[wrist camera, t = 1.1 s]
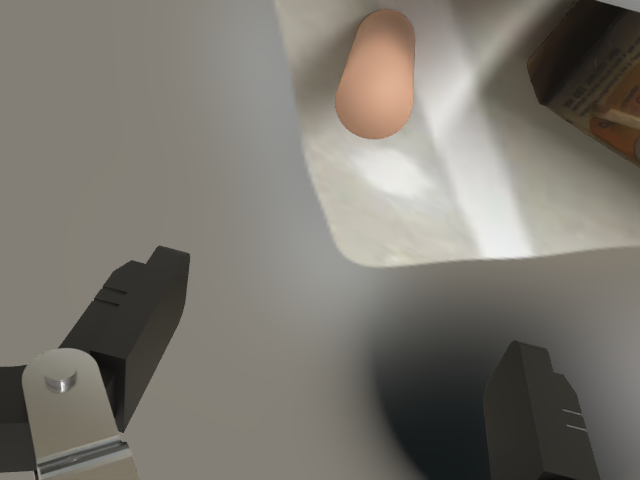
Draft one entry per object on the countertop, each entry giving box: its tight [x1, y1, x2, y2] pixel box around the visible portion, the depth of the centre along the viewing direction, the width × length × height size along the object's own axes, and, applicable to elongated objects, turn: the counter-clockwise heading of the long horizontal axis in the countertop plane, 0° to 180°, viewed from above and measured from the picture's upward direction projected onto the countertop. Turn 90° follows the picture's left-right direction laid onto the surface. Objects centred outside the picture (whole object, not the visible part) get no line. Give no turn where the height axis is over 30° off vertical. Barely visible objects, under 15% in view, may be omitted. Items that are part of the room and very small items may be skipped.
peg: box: [335, 9, 415, 139], centre depth 30 cm, size 3×3×10 cm
